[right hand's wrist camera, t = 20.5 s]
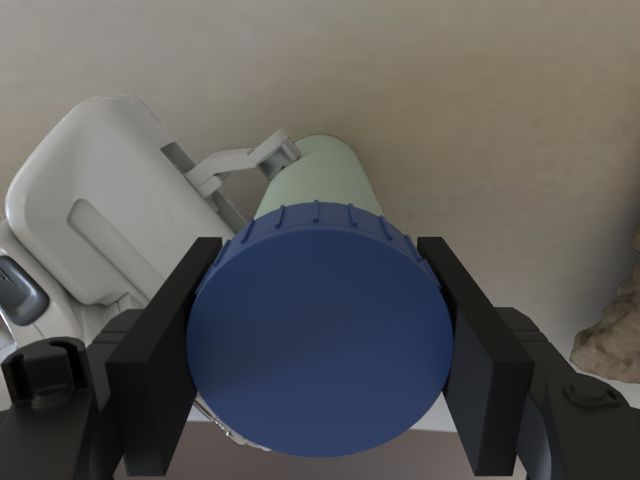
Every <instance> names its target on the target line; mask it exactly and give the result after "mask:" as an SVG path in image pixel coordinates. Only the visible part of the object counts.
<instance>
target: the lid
mask: <svg viewBox="0 0 640 480" xmlns="http://www.w3.org/2000/svg"><path fill="white" fill-rule="evenodd" d="M439 289H442V287H441V285H440V283H439V282H438V280H437V278H436V276H435V275H434V273H433V271H432V269H431V268H430V266H429V264H428V262H427V261H426V259H424V260H422V258H421V257H420V255H419V253H418V251H417V250H416V248H415V246H414V244H413V242H412V240H411V239H410V237H409V236H408V235H405V236H404V235H403V234H402V233H401V232H400V231H399V230H398V229H396V228H395V227H394V226H393V225H391V224H390V223H388V222H387V221H386V220H385V218H384V216H382V215H380V217H379V216H377V215H374V214H372V213H370V212H368V211H366V210H363V209H360V208H357V207H354V206H353V204H351V203H349V204H348V205H345V204H340V203H332V202H318V200H314V202H308V203H300V204H295V205H289V206H286V207H285V206H284V205H281V206H280V208H279V209H277V210H274V211H271V212H269V213H267V214H265V215H263V216H261V217H259V218H257V219H256V220H254V219H253V218H252V219H251V220H250V221H249V223H248V225H247V226H245V227H244V228H243V229H242V230H241V231H240V232H239V233H237V234H236V235H235V236H234V237H233V238H232V240H229V239H228V240H227V241H226V242H225V244H224V246H223V247H222V249H221V251H220V253H219V255H218V256H217V258H216V260H215V262H214V263H213V265H212V264H211V266H210V268H209V269H208V271H207V273H206V275H205V276H204V278H203V280H202V282H201V283H200V285H199V287H198V289H197V290H196V292H195V295H197V297H196V300H195V302H194V304H193V306H192V309H191V311H190V315H189V319H188V323H187V329H186V349H187V358H188V365H189V371H190V374H191V376H192V379H193V382H194V384H195V386H196V388H197V390H198V392H199V394H200V396H201V397H202V399H203V400H204V402H205V403H206V404H207V406H208V407H209V408H210V410H211V411H212V412H213V413H214V414H215V415H216V416H217V417H218V418H219V419H220V420H221V421H222V422H223V423H224V424H226V425H227V426H228V427H229V428H231V429H232V430H233V431H235V432H236V433H238V434H239V435H241V436H242V437H244V438H246V439H248V440H250V441H252V442H254V443H256V444H258V445H260V446H263V447H265V448H268V449H271V450H274V451H277V452H281V453H285V454H289V455H296V456H303V457H337V456H344V455H350V454H354V453H358V452H362V451H366V450H369V449H372V448H374V447H377V446H379V445H382V444H384V443H386V442H388V441H390V440H392V439H394V438H396V437H397V436H399V435H400V434H402V433H403V432H405V431H406V430H408V429H409V428H410V427H411V426H413V425H414V424H415V423H416V422H417V421H419V420H420V419H421V418H422V417H423V416H424V414H425V413H426V412H427V411H428V410H429V409H430V408H431V406H432V405H433V404H434V402H435V401H436V399H437V398H438V397H439V395H440V393H441V391H442V389H443V387H444V385H445V383H446V380H447V378H448V375H449V372H450V369H451V363H452V355H453V347H454V334H453V326H452V321H451V318H450V314H449V310H448V308H447V305H446V303H445V301H444V299H443V297H442V294H441V293H440V291H439Z"/></svg>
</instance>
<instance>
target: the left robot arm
mask: <svg viewBox="0 0 640 480" xmlns="http://www.w3.org/2000/svg"><path fill="white" fill-rule="evenodd" d="M300 153H301V152H300V151H299V149H298V148H297V147H296V145H295V144H294V143H293V141H292V140H291V139H290V137H289V136H288V135H287V133H286V132H285V131H284V130H283V128H281V129H279V130H278V131H277V132H275V133H274V134H273V135H272V136H270V137H269V138H268V139H267V140H265V141H264V142H263V143H262V144H260V145H259V146H258V147H256V148H255V149H253V148H244V149H236V150H229V151H221V152H214V153H212V154H211V155H209V156H208V157H207V158H205V159H204V160H203V161H202V162H200V163H199V164H197V163H196V162H195V161H194V160H193V159H192V157H191V156H190V155H189V154H188V153H187V152H186V151H185V149H184V148H183V147H182V146H181V145H180V144H179V142H178V141H177V140H176V139H175V138H174V137H173V135H172V134H171V133H170V132H169V131H168V130H167V128H166V127H165V126H164V125H163V124H162V123H161V122H160V120H159V119H158V118H157V117H156V116H155V115H154V113H153V112H152V111H151V110H150V109H149V107H148V106H147V105H146V104H145V103H144V102H143V101H142V100H141V99H140V98H138V97H136V96H130V95H120V94H103V95H98V96H94V97H90V98H88V99H86V100H84V101H82V102H81V103H79V104H78V105H76V106H75V107H74V108H73V109H72V110H71V111H70V112H69V113H68V114H67V115H66V116H65V117H64V118H63V119H62V120H61V121H60V122H59V123H58V124H57V125H56V126H55V127H54V128H53V129H52V130H51V131H50V132H49V133H48V135H47V136H46V137H45V138H44V139H43V140H42V142H41V143H40V144H39V145H38V146H37V148H36V149H35V150H34V151H33V152H32V154H31V155H30V156H29V157H28V159H27V160H26V162H25V163H24V164H23V166H22V167H21V168H20V170H19V171H18V172H17V174H16V175H15V177H14V179H13V180H12V182H11V184H10V186H9V189H8V191H7V195H6V199H5V213H6V218H5V219H4V220H2V221H0V314H1V316H2V318H3V319H4V321H5V323H6V324H7V326H8V328H9V330H10V332H11V334H12V336H13V338H14V339H15V343H12V344H9V345H6V346H4V347H2V348H0V364H1V363H2V362H3V361H4V359H5V358H6V357H7V356H8V355H10V354H11V353H13V352H14V351H16V350H18V349H19V348H21V347H23V346H25V345H28V344H30V343H33V342H35V341H38V340H43V339H47V338H51V337H63V336H68V337H74V338H78V339H80V340H81V341H83V342H84V343H85V347H86V348H87V346H88V345H89V344H92V341H93V339H94V338H95V337H96V336H97V335H98V334H100V331H101V330H102V329H103V328H104V326H105V325H106V324H107V323H108V322H109V321H110V319H112V318H113V317H115V316H117V315H118V314H120V313H122V312H123V311H125V310H126V309H145V307H146V306H147V305H148V303H149V302H150V301H151V299H152V298H153V297H154V295H155V294H156V293H157V291H158V290H159V289H160V287H161V286H162V285H163V283H164V282H165V281H166V279H167V278H168V277H169V275H170V274H171V273H172V271H173V270H174V269H175V267H176V266H177V265H178V263H179V262H180V261H181V259H182V258H183V257H184V255H185V254H186V253H187V251H188V250H189V249H190V247H191V246H192V245H193V243H194V242H195V241H196V239H197V238H198V237H222V244H223V246H224V244H225V242H226V241H227V240H228V239H229V240H232V238H233V237H234V236H235V235H236V234H237V233H239V232H240V231H241V230H242V229H243V228H244V227H245V226H247V225H248V222H247V221H246V220H245V219H244V218H243V217H242V216H241V214H240V213H239V212H238V211H237V210H236V209H235V207H234V206H233V205H232V204H231V203H230V202H229V200H228V199H227V198H226V197H225V196H224V195H223V193H222V192H221V191H220V190H219V189H218V188H219V187H220V186H222V185H223V183H224V182H225V181H226V180H227V179H228V178H229V177H230V172H229V171H236V170H243V169H250V168H257V167H258V168H259V169H260V170H261V171H262V172H263V174H264V175H265V176H266V177H267V178H268V179H269V180H271V179H272V178H273V177H275V176H276V175H277V174H278V173H279V172H280V171H281V169H282V167H283V166H288V165H290V164H292V163H293V162H294V161H295V160H296V159H297V158H298V157H299V156H300ZM11 404H12V402H11V399H10V395H9V392H8V389H7V385H6V382H5V379H4V376H3V372H2V369H1V366H0V411H3V410H7V409H10V406H11ZM193 405H194V406H195V407H196V408H197V409H198V410H199V411H200V412H202V413H203V414H204V415H205V416H206V417H207V418H208V419H210V420H211V421H213V422H214V423H215V424H217V425H218V426H219V427H221V429H222V430H223V431H224V432H225V434H226V436H227V437H228V438H229V439H230V440H232V441H233V442H234V443H236V444H238V445H240V446H243V445H245V444H247V445H249V446H251V447H254V448H259V449H263V450H265V451H269V450H271V449H268V448H265V447H263V446H260V445H258V444H256V443H254V442H252V441H250V440H248V439H246V438H244V437H242V436H241V435H239V434H238V433H236V432H235V431H233V430H232V429H231V428H229V427H228V426H227V425H226V424H224V423H223V422H222V421H221V420H220V419H219V418H218V417H217V416H216V415H215V414H214V413H213V412H212V411H211V410H210V408H209V407H208V406H207V404H206V403H205V402H204V400H203V399H202V397H201V396H200V394H199V392H197V394H196V397H195V400H194V402H193Z"/></svg>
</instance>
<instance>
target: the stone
mask: <svg viewBox="0 0 640 480" xmlns="http://www.w3.org/2000/svg"><path fill="white" fill-rule="evenodd" d="M631 246H632V247H633V248H634V249H635V250H636V251H637V252H638V253H640V224H639V226H638V227H637V228H636V229H635V231H634V234H633V238H632V241H631ZM601 314H602V315H601V322H599V323H598V324H596V325H594V326H592V327H590V328H587V329H585V330H582V331H580V332H579V333H578V334H577V335H576V336H575V340H574V345H573V350H572V352H571V355H570V359H569V360H570V361H571V362H572V363H574V364H575V365H576V366H577V367H579V368H580V369H581V370H582V371H585V372H588V373H592V374H595V375H598V376H601V377H604V378H606V379H608V380H619V381H622V382H624V383H639V384H640V259H639V260H638V262H637V263H636V264H635V265H634V268H633V272H631V273H630V274H629V275H628V276H627V277H626V278H625V279H624V280H623V281H622V282H621V284H620V285H619V287H618V289H617V297H616V298H615V299H614V300H612V301H611V302H609V305H608V306H607V307H606V308H605V309H604V310H603V312H602V313H601Z"/></svg>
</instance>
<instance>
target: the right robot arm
mask: <svg viewBox="0 0 640 480" xmlns="http://www.w3.org/2000/svg"><path fill="white" fill-rule="evenodd" d="M222 247H223V244H222V237H198V238H197V239H196V241H195V242H194V243H193V245H192V246H191V247H190V249H189V250H188V251H187V253H186V254H185V255H184V257H183V258H182V259H181V261H180V262H179V263H178V265H177V266H176V267H175V269H174V270H173V271H172V273H171V274H170V275H169V277H168V278H167V279H166V281H165V282H164V283H163V285H162V286H161V287H160V289H159V290H158V291H157V293H156V294H155V295H154V297H153V298H152V299H151V301H150V302H149V303H148V305H147V306H146V307H145V309H126V310H125V311H123V312H122V313H120V314H118V315H117V316H115V317H113V318H112V319H110V321H109V322H108V323H107V324H106V325H105V326H104V328H103V329H102V330H101V331H100V334H98V335H97V336H96V337H95V338H94V339H93V341H92V344H89V345H88V346H87V348H86V347H85V343H84V342H83V341H81V340H80V339H78V338H74V337H68V336H63V337H51V338H47V339H43V340H38V341H35V342H33V343H30V344H28V345H25V346H23V347H21V348H19V349H18V350H16V351H14V352H13V353H11V354H10V355H8V356H7V357H6V358H5V359H4V361H3V362H2V363H1V364H0V366H1V369H2V372H3V376H4V379H5V382H6V385H7V389H8V392H9V395H10V399H11V402H12V404H11V406H10V409H7V410H3V411H0V480H114V475H113V474H114V472H115V470H116V468H117V466H118V464H119V462H120V460H121V458H122V456H123V457H124V462H125V467H126V472H127V476H165V475H166V472H167V470H168V467H169V465H170V462H171V459H172V457H173V454H174V452H175V449H176V446H177V444H178V441H179V439H180V436H181V433H182V431H183V428H184V426H185V423H186V420H187V418H188V415H189V413H190V410H191V407H192V405H193V402H194V400H195V397H196V394H197V392H198V390H197V388H196V386H195V384H194V382H193V379H192V376H191V374H190V371H189V365H188V358H187V349H186V329H187V323H188V319H189V315H190V311H191V309H192V306H193V304H194V302H195V300H196V297H197V295H195V292H196V290H197V289H198V287H199V285H200V283H201V282H202V280H203V278H204V276H205V275H206V273H207V271H208V269H209V268H210V266H211V264H212V265H213V263H214V262H215V260H216V258H217V256H218V255H219V253H220V251H221V249H222ZM417 251H418V253H419V255H420V257H421V258H422V260H424V259H426V261H427V262H428V264H429V266H430V268H431V269H432V271H433V273H434V275H435V276H436V278H437V280H438V282H439V283H440V285H441V287H442V289H439V291H440V293H441V294H442V297H443V299H444V301H445V303H446V305H447V308H448V310H449V314H450V318H451V321H452V326H453V334H454V347H453V355H452V363H451V369H450V372H449V375H448V378H447V380H446V383H445V385H444V387H443V389H442V392H443V395H444V398H445V400H446V403H447V405H448V408H449V411H450V413H451V416H452V418H453V421H454V424H455V426H456V429H457V431H458V434H459V437H460V439H461V442H462V444H463V447H464V450H465V452H466V455H467V457H468V460H469V463H470V465H471V468H472V470H473V473H474V476H512V475H513V470H514V465H515V460H516V456H517V455H518V456H519V458H520V460H521V462H522V464H523V466H524V468H525V470H526V472H527V475H526V480H640V409H637V408H633V407H630V406H629V403H628V402H627V401H626V399H625V398H624V397H623V395H622V394H621V393H620V392H619V391H617V390H616V389H615V388H613V387H612V386H610V385H609V384H607V383H605V382H603V381H601V380H599V379H597V378H594V377H591V376H587V375H584V374H580V373H576V371H575V370H574V369H573V368H572V367H571V366H570V364H569V363H568V362H567V361H566V360H565V359H564V358H563V356H562V355H561V354H560V353H559V352H558V351H557V349H556V348H555V347H554V346H553V345H552V344H551V342H548V339H547V338H546V337H545V335H544V334H543V333H542V332H540V330H539V328H538V327H537V326H536V325H535V324H534V323H533V321H532V320H531V319H530V318H529V317H527V316H526V315H524V314H522V313H521V312H519V311H518V310H516V309H514V308H513V307H493V305H492V304H491V302H490V301H489V300H488V298H487V297H486V296H485V294H484V293H483V292H482V290H481V289H480V288H479V286H478V285H477V284H476V282H475V281H474V280H473V278H472V277H471V276H470V274H469V273H468V272H467V270H466V269H465V268H464V266H463V265H462V264H461V262H460V261H459V260H458V258H457V257H456V256H455V254H454V253H453V252H452V250H451V249H450V248H449V246H448V245H447V244H446V242H445V241H444V240H443V238H442V237H418V241H417Z"/></svg>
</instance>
